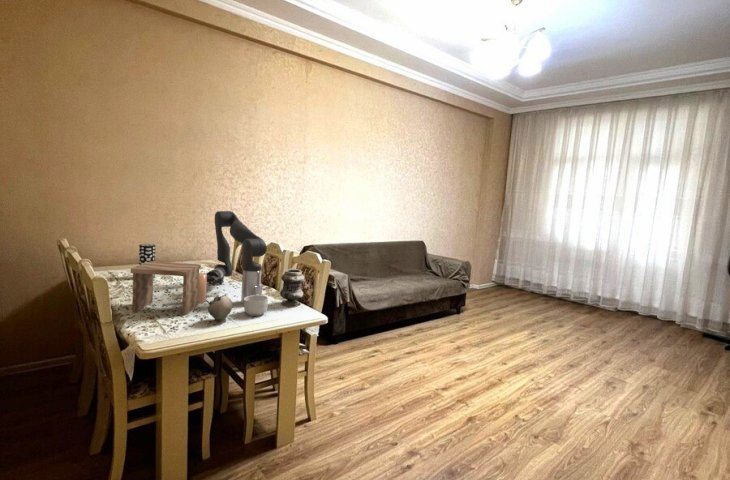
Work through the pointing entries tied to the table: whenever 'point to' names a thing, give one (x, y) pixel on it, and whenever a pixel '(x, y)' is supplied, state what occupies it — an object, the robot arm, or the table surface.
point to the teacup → (255, 304)
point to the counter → (146, 271)
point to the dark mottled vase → (292, 287)
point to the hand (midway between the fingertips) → (204, 283)
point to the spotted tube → (146, 254)
